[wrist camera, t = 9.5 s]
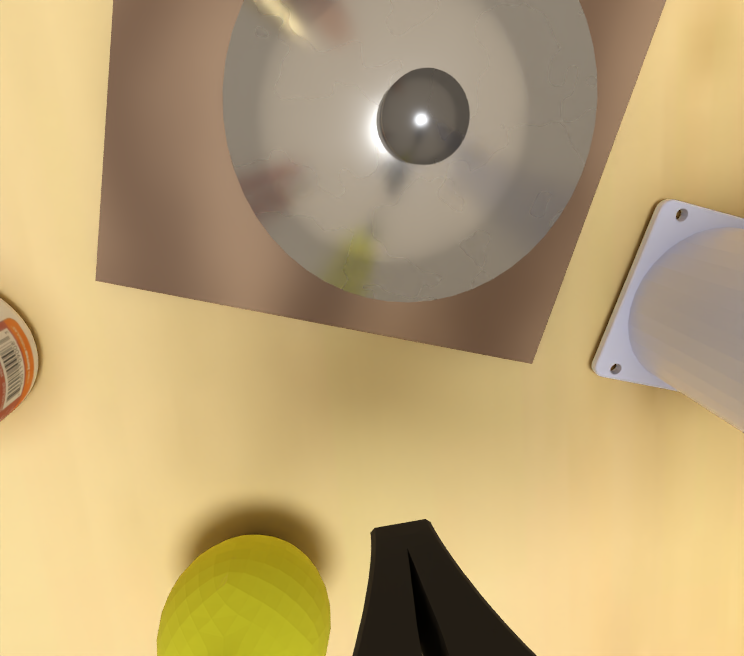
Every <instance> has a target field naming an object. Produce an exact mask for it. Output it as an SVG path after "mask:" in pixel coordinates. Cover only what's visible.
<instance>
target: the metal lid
mask: <svg viewBox="0 0 744 656" xmlns="http://www.w3.org/2000/svg"><path fill="white" fill-rule="evenodd" d="M596 108H597V69H596V62H595V55H594V47H593V43H592V39H591V35H590V31H589V27H588V23H587V20H586V17H585V14H584V12H583V9H582V7H581V4H580V2H579V0H244V2H243V4H242V6H241V9H240V12H239V14H238V17H237V20H236V22H235V25H234V28H233V30H232V34H231V39H230V43H229V47H228V51H227V56H226V61H225V70H224V80H223V119H224V126H225V133H226V140H227V146H228V149H229V153H230V157H231V160H232V164H233V168H234V171H235V174H236V176H237V179H238V181H239V183H240V186H241V188H242V191H243V193H244V195H245V197H246V199H247V201H248V203H249V204H250V206H251V208H252V210H253V212H254V213H255V215H256V217H257V218H258V220H259V221H260V222H261V224H262V225H263V227H264V228H265V229H266V231H267V232H268V233H269V235H270V236H271V237H272V238H273V240H274V241H275V242H276V243H277V244H278V245H279V246H280V247H281V248H282V249H283V250H284V251H285V252H286V253H287V254H288V255H289V256H290V257H291V258H292V259H294V260H295V261H296V262H297V263H299V264H300V265H301V266H302V267H303V268H305V269H306V270H307V271H309V272H311V273H312V274H314V275H315V276H317V277H319V278H320V279H322V280H323V281H325V282H327V283H329V284H331V285H334V286H336V287H338V288H340V289H342V290H344V291H347V292H350V293H353V294H357V295H360V296H363V297H366V298H372V299H377V300H383V301H390V302H420V301H431V300H436V299H441V298H446V297H450V296H454V295H457V294H460V293H463V292H466V291H468V290H471V289H474V288H476V287H478V286H480V285H482V284H484V283H486V282H488V281H490V280H492V279H494V278H495V277H497V276H498V275H500V274H502V273H503V272H505V271H506V270H508V269H509V268H511V267H512V266H513V265H514V264H516V263H517V262H518V261H519V260H521V259H522V258H523V257H524V256H525V255H527V254H528V253H529V252H530V251H531V250H532V249H533V248H534V247H535V246H536V245H537V244H538V243H539V241H540V240H541V239H542V238H543V237H544V236H545V235H546V234H547V232H548V231H549V230H550V228H551V227H552V226H553V225H554V223H555V222H556V221H557V219H558V218H559V216H560V215H561V213H562V211H563V210H564V208H565V206H566V205H567V203H568V201H569V200H570V198H571V196H572V194H573V192H574V190H575V188H576V185H577V183H578V181H579V179H580V177H581V175H582V172H583V169H584V166H585V163H586V160H587V157H588V154H589V150H590V146H591V141H592V136H593V132H594V127H595V119H596Z"/></svg>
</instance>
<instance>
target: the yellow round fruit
mask: <svg viewBox="0 0 744 656" xmlns="http://www.w3.org/2000/svg"><path fill="white" fill-rule="evenodd" d="M330 629H331V625H330V603H329V599H328V595H327V591H326V587H325V585H324V583H323V581H322V579H321V577H320V574H319V572H318V570H317V568H316V567H315V566H314V564H313V563H312V562H311V560H310V559H309V558H308V557H307V556H306V555H305V554H304V553H303V552H302V551H301V550H299V549H298V548H297V547H295V546H294V545H292V544H290V543H289V542H287V541H284V540H281V539H279V538H276V537H272V536H265V535H259V534H258V535H242V536H238V537H234V538H231V539H227V540H225V541H223V542H221V543H219V544H217V545H215V546H213V547H211V548H210V549H208V550H207V551H205V552H204V553H203V554H201V555H200V556H199V557H197V558H196V559H195V560H194V561H193V562H192V563H191V565H190V566H189V567H188V568H187V569H186V570H185V571H184V572H183V573H182V574H181V576H180V577H179V579H178V580H177V582H176V583H175V585H174V586H173V588H172V590H171V592H170V594H169V596H168V598H167V601H166V603H165V606H164V609H163V611H162V614H161V620H160V625H159V630H158V636H157V656H325V655H326V651H327V646H328V640H329V634H330Z"/></svg>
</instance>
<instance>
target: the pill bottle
mask: <svg viewBox="0 0 744 656" xmlns="http://www.w3.org/2000/svg"><path fill="white" fill-rule="evenodd" d="M37 371H38V353H37V348H36V344H35V341H34V338H33V336H32V333H31V331H30V329H29V328H28V326H27V324H26V323H25V322H24V320H23V319H22V318H21V317H20V316H19V315H18V313H17V312H16V311H15V310H14V309H13V308H12V307H11V306H10V305H8V304H7V303H6V302H5V301H4V300H2V299H1V298H0V421H2V420H3V419H4V418H5V417H6V416H7V415H9V414H10V413H11V412H12V411H13V410H14V409H15V408H16V407H18V406H19V405H20V404H21V403H22V402H23V400H24V399H25V398H26V397H27V395H28V394H29V392H30V391H31V389H32V387H33V385H34V382H35V379H36V376H37Z"/></svg>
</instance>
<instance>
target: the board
mask: <svg viewBox="0 0 744 656" xmlns="http://www.w3.org/2000/svg"><path fill="white" fill-rule="evenodd" d="M243 2H244V0H113V15H112V31H111V47H110V62H109V78H108V94H107V110H106V125H105V141H104V157H103V173H102V188H101V204H100V220H99V236H98V251H97V267H96V281H100V282H105V283H111V284H116V285H121V286H126V287H132V288H137V289H142V290H147V291H152V292H158V293H163V294H168V295H173V296H179V297H184V298H189V299H194V300H200V301H205V302H210V303H215V304H221V305H226V306H231V307H236V308H242V309H247V310H252V311H257V312H263V313H268V314H273V315H278V316H284V317H289V318H294V319H299V320H305V321H310V322H315V323H320V324H326V325H331V326H336V327H341V328H347V329H352V330H357V331H362V332H368V333H373V334H378V335H383V336H389V337H394V338H399V339H404V340H410V341H415V342H420V343H425V344H431V345H436V346H441V347H446V348H452V349H457V350H462V351H467V352H473V353H478V354H483V355H488V356H494V357H499V358H504V359H509V360H515V361H520V362H525V363H530V364H532V363H533V360H534V357H535V354H536V352H537V349H538V346H539V344H540V341H541V338H542V335H543V333H544V330H545V327H546V325H547V322H548V319H549V316H550V314H551V311H552V308H553V306H554V303H555V300H556V298H557V295H558V292H559V289H560V287H561V284H562V281H563V279H564V276H565V273H566V270H567V268H568V265H569V262H570V260H571V257H572V254H573V251H574V249H575V246H576V243H577V241H578V238H579V235H580V232H581V230H582V227H583V224H584V222H585V219H586V216H587V214H588V211H589V208H590V205H591V203H592V200H593V197H594V195H595V192H596V189H597V186H598V184H599V181H600V178H601V176H602V173H603V170H604V167H605V165H606V162H607V159H608V157H609V154H610V151H611V148H612V146H613V143H614V140H615V138H616V135H617V132H618V130H619V127H620V124H621V121H622V119H623V116H624V113H625V111H626V108H627V105H628V102H629V100H630V97H631V94H632V92H633V89H634V86H635V83H636V81H637V78H638V75H639V73H640V70H641V67H642V65H643V62H644V59H645V56H646V54H647V51H648V48H649V46H650V43H651V40H652V37H653V35H654V32H655V29H656V27H657V24H658V21H659V18H660V16H661V13H662V10H663V8H664V5H665V2H666V0H579V2H580V4H581V7H582V9H583V12H584V14H585V17H586V20H587V23H588V27H589V31H590V35H591V39H592V43H593V47H594V55H595V62H596V69H597V108H596V119H595V127H594V132H593V136H592V141H591V146H590V150H589V154H588V157H587V160H586V163H585V166H584V169H583V172H582V175H581V177H580V179H579V181H578V183H577V185H576V188H575V190H574V192H573V194H572V196H571V198H570V200H569V201H568V203H567V205H566V206H565V208H564V210H563V211H562V213H561V215H560V216H559V218H558V219H557V221H556V222H555V223H554V225H553V226H552V227H551V228H550V230H549V231H548V232H547V234H546V235H545V236H544V237H543V238H542V239H541V240H540V241H539V243H538V244H537V245H536V246H535V247H534V248H533V249H532V250H531V251H530V252H529V253H528V254H527V255H525V256H524V257H523V258H522V259H521V260H519V261H518V262H517V263H516V264H514V265H513V266H512V267H511V268H509V269H508V270H506V271H505V272H503V273H502V274H500V275H498V276H497V277H495V278H494V279H492V280H490V281H488V282H486V283H484V284H482V285H480V286H478V287H476V288H474V289H471V290H468V291H466V292H463V293H460V294H457V295H454V296H450V297H446V298H441V299H436V300H431V301H420V302H390V301H383V300H377V299H372V298H366V297H363V296H360V295H357V294H353V293H350V292H347V291H344V290H342V289H340V288H338V287H336V286H334V285H331V284H329V283H327V282H325V281H323V280H322V279H320V278H319V277H317V276H315V275H314V274H312V273H311V272H309V271H307V270H306V269H305V268H303V267H302V266H301V265H300V264H299V263H297V262H296V261H295V260H294V259H292V258H291V257H290V256H289V255H288V254H287V253H286V252H285V251H284V250H283V249H282V248H281V247H280V246H279V245H278V244H277V243H276V242H275V241H274V240H273V238H272V237H271V236H270V235H269V233H268V232H267V231H266V229H265V228H264V227H263V225H262V224H261V222H260V221H259V220H258V218H257V217H256V215H255V213H254V212H253V210H252V208H251V206H250V204H249V203H248V201H247V199H246V197H245V195H244V193H243V191H242V188H241V186H240V183H239V181H238V179H237V176H236V174H235V171H234V168H233V164H232V160H231V157H230V153H229V149H228V146H227V140H226V133H225V126H224V119H223V80H224V70H225V61H226V56H227V51H228V47H229V43H230V39H231V34H232V30H233V28H234V25H235V22H236V20H237V17H238V14H239V12H240V9H241V6H242V4H243Z"/></svg>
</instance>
